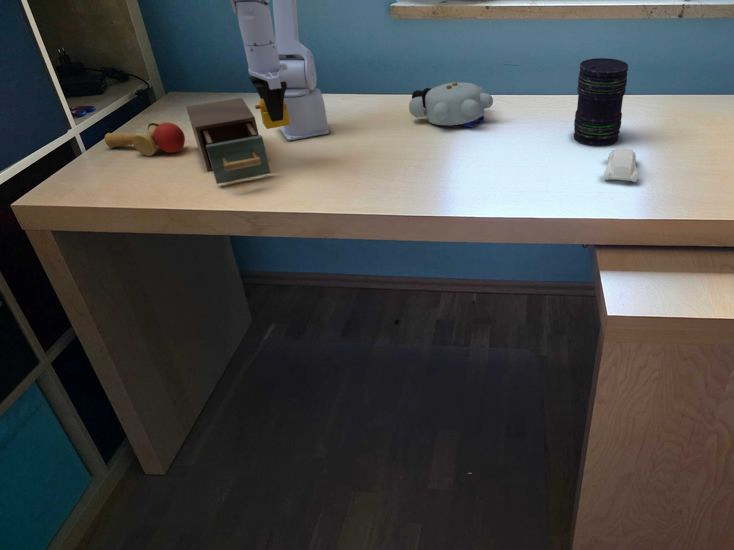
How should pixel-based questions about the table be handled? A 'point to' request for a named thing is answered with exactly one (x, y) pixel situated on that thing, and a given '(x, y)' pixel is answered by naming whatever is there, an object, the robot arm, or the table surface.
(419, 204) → the table surface
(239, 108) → the cabinet
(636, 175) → the white toy car
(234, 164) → the drawer
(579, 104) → the storage jar
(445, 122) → the figurine
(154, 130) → the kendama
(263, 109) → the duck
